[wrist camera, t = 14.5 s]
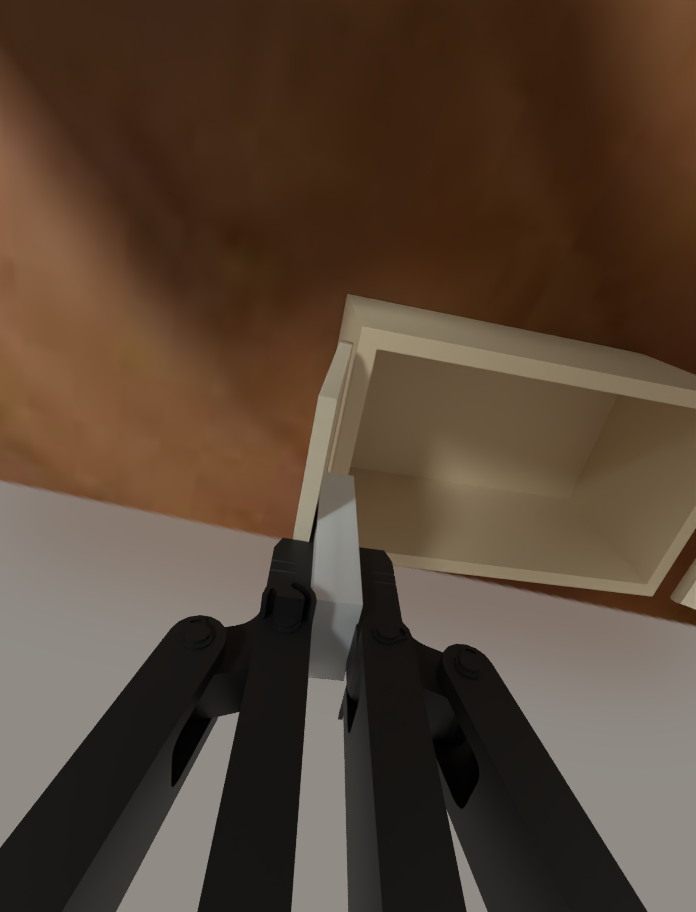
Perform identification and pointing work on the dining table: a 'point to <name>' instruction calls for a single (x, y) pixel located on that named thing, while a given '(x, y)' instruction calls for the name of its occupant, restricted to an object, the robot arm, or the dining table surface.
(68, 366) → the dining table surface
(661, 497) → the carton
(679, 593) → the flap right
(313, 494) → the flap left
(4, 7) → the dining table surface
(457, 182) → the dining table surface
